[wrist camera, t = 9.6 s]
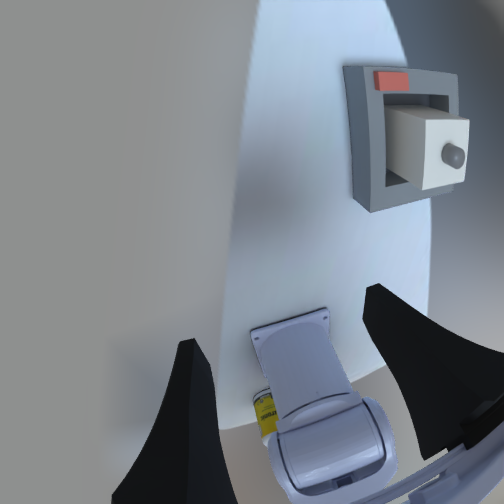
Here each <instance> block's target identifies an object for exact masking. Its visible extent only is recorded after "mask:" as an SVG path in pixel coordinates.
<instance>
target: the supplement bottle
mask: <svg viewBox="0 0 504 504" xmlns="http://www.w3.org/2000/svg"><path fill="white" fill-rule="evenodd" d="M253 403H254V408H255V412H256V417H257V421H258V425H259V430H260V434H261V438H262V441H263V444H264V445H265V446H267V447H268V440H269V438H270V436H271V433H272V432H275V431H278V429H277V426H276V421H279V418H278V414H277V411H276V407H275V404H274V400H273V397H272V393H271V389H267V390H265V391H262V392H260V393H258V394H257V395H256V396H255V397H254V400H253Z"/></svg>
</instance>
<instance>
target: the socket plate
mask: <svg viewBox="0 0 504 504" xmlns="http://www.w3.org/2000/svg"><path fill="white" fill-rule="evenodd" d="M343 71H344V78H345V85H346V93H347V102H348V112H349V122H350V134H351V148H352V167H353V198H354V199H355V200H356V201H357V202H358V203H359V204H360V205H362V206H363V207H364V208H365V209H366V210H367V211H368V212H369V213H372V212H376V211H380V210H384V209H388V208H391V207H395V206H399V205H403V204H407V203H411V202H414V201H418V200H422V199H426V198H430V197H434V196H438V195H442V194H445V193H449V192H453V185H454V183H453V184H449V185H444V186H440V187H435V188H430V189H426V190H421V189H419V188H418V187H416V186H415V185H413V184H412V183H410V182H409V181H407V180H405V179H404V178H402V177H401V176H399V175H397V174H396V173H394V172H392V171H391V170H389V169H387V168H386V144H385V118H384V105H423V106H427V107H431V108H434V109H438V110H441V111H444V112H447V113H450V114H453V115H456V116H458V79H457V75H456V74H450V73H444V72H438V71H431V70H421V69H412V68H398V67H375V66H347V67H343Z"/></svg>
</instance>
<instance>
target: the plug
mask: <svg viewBox="0 0 504 504" xmlns="http://www.w3.org/2000/svg"><path fill="white" fill-rule="evenodd" d="M384 118H385V144H386V168H387V169H389V170H391V171H392V172H394V173H396V174H397V175H399V176H401V177H402V178H404V179H405V180H407V181H409V182H410V183H412V184H413V185H415V186H416V187H418V188H419V189H421V190H426V189H430V188H435V187H440V186H444V185H449V184H453V183H458V182H463V181H464V177H465V168H466V161H467V150H468V137H469V120H468V119H465V118H462V117H459V116H456V115H453V114H450V113H447V112H444V111H441V110H438V109H434V108H431V107H427V106H423V105H384Z"/></svg>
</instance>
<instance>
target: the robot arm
mask: <svg viewBox="0 0 504 504" xmlns="http://www.w3.org/2000/svg"><path fill="white" fill-rule="evenodd" d="M362 319H363V322H364V324H365V326H366V328H367V331H368V333H369V335H370V337H371V339H372V341H373V342H374V344H375V346H376V347H377V349H378V351H379V352H380V354H381V356H382V357H383V359H384V361H385V362H386V364H387V366H388V367H389V369H390V371H391V372H392V374H393V376H394V378H395V379H396V381H397V383H398V385H399V388H400V390H401V392H402V395H403V397H404V400H405V402H406V405H407V408H408V410H409V413H410V416H411V419H412V422H413V425H414V428H415V432H416V435H417V439H418V443H419V448H420V452H421V455H422V458H423V459H424V460H427V459H428V458H430V457H432V456H434V455H435V454H437V453H439V452H440V451H442V450H443V449H445V448H447V450H448V453H447V454H445V455H444V456H442V457H441V458H439V459H437V460H436V461H434V462H433V463H431V464H429V465H428V466H426V467H424V468H423V469H421V470H419V471H417V472H416V473H414V474H412V475H410V476H409V477H407V478H405V479H403V480H401V481H399V482H397V483H395V484H393V485H391V486H389V487H387V488H385V486H386V485H387V484H388V482H389V481H390V480H391V479H392V477H393V476H394V474H395V473H396V471H397V469H398V467H397V463H398V459H397V455H396V451H395V438H394V435H393V431H392V428H391V425H390V422H389V420H388V418H387V416H386V414H385V412H384V410H383V408H382V407H381V405H380V404H379V403H378V402H377V401H376V400H374V399H371V398H370V397H364V398H362V399H361V397H360V395H359V392H358V391H356V392H354V391H353V389H352V387H351V384H350V382H349V380H348V378H347V376H346V374H345V371H344V369H343V367H342V365H341V363H340V361H339V359H338V357H337V354H336V352H335V350H334V348H333V346H332V344H331V342H330V340H329V327H330V312H329V310H328V309H322V310H319V311H316V312H313V313H310V314H307V315H303V316H300V317H297V318H294V319H290V320H287V321H284V322H280V323H277V324H273V325H270V326H266V327H263V328H259V329H256V330H253V331H251V333H250V335H251V339H252V342H253V345H254V348H255V351H256V353H257V356H258V359H259V362H260V365H261V368H262V371H263V374H264V377H265V378H267V379H268V382H269V386H270V389H271V393H272V397H273V400H274V404H275V407H276V411H277V414H278V418H279V421H276V426H277V429H278V431H275V432H272V433H271V436H270V438H269V440H268V454H269V459H270V463H271V466H272V469H273V472H274V474H275V477H276V479H277V481H278V483H279V484H280V486H281V487H282V488H283V489H284V490H285V492H286V494H287V496H288V498H289V500H290V502H292V503H293V504H385V503H387V502H390V501H392V500H393V499H396V498H398V497H400V496H402V495H404V494H405V493H407V492H409V491H411V490H413V489H414V488H416V487H418V486H420V485H422V484H423V483H425V482H427V481H429V480H430V479H432V478H433V477H435V476H436V475H438V474H440V476H439V478H437V479H434V480H432V481H430V482H428V483H426V484H424V485H423V486H421V487H419V488H418V489H416V490H415V491H413V492H412V493H410V494H409V495H408V497H409V500H408V501H405V502H403V503H401V504H479V503H480V502H481V501H482V500H483V499H484V498H485V497H486V496H487V495H488V494H489V493H490V492H491V491H492V490H493V489H494V488H495V487H496V486H497V484H499V482H500V481H501V480H502V479H503V478H504V353H502V352H498V351H495V350H492V349H489V348H486V347H484V346H481V345H478V344H476V343H474V342H471V341H469V340H467V339H464V338H462V337H460V336H458V335H456V334H455V333H453V332H450V331H449V330H447V329H445V328H444V327H442V326H440V325H438V324H437V323H435V322H434V321H432V320H431V319H429V318H427V317H426V316H424V315H423V314H421V313H420V312H419V311H417V310H416V309H414V308H413V307H411V306H410V305H409V304H407V303H406V302H404V301H403V300H402V299H400V298H399V297H397V296H396V295H395V294H393V293H392V292H391V291H389V290H388V289H386V288H385V287H384V286H382V285H381V284H379V283H378V284H375V285H372V286H369V287H367V288H366V296H365V304H364V311H363V318H362ZM384 488H385V489H384ZM111 504H238V502H237V500H236V497H235V494H234V491H233V488H232V484H231V481H230V478H229V474H228V471H227V467H226V463H225V459H224V455H223V451H222V447H221V442H220V436H219V428H218V419H217V408H216V398H215V387H214V382H213V377H212V372H211V367H210V364H209V362H208V361H207V359H206V357H205V355H204V354H203V352H202V350H201V349H200V347H199V345H198V344H197V342H196V340H195V338H193V339H189V340H184V341H180V342H179V344H178V348H177V353H176V357H175V361H174V365H173V369H172V372H171V376H170V379H169V383H168V386H167V389H166V393H165V396H164V398H163V401H162V404H161V407H160V410H159V413H158V415H157V418H156V420H155V423H154V425H153V428H152V430H151V432H150V434H149V436H148V438H147V440H146V442H145V444H144V446H143V448H142V450H141V452H140V454H139V456H138V457H137V459H136V461H135V462H134V464H133V466H132V467H131V469H130V471H129V472H128V474H127V475H126V477H125V478H124V479H123V481H122V482H121V483H120V485H119V486H118V488H117V489H116V490H115V492H114V493H113V494H112V501H111Z"/></svg>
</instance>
